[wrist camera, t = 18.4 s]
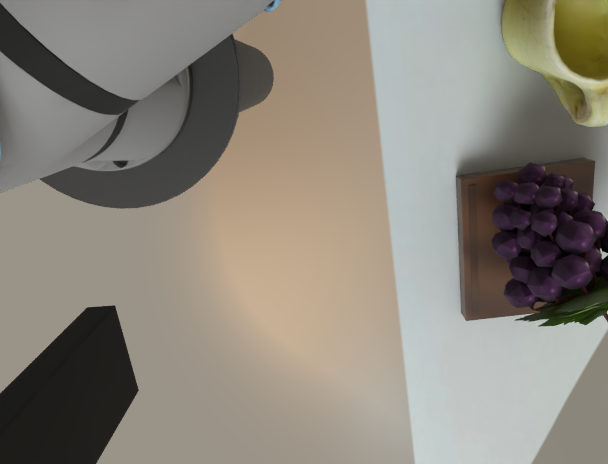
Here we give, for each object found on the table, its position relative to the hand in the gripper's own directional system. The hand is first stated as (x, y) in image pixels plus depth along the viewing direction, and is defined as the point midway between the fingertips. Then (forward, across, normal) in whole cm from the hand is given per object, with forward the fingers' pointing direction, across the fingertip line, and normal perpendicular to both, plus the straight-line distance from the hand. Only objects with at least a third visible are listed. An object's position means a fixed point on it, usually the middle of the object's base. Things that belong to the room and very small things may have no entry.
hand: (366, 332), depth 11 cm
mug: (+29, +18, +7) cm, 35 cm away
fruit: (+25, +13, -3) cm, 28 cm away
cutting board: (+29, +16, -10) cm, 34 cm away
